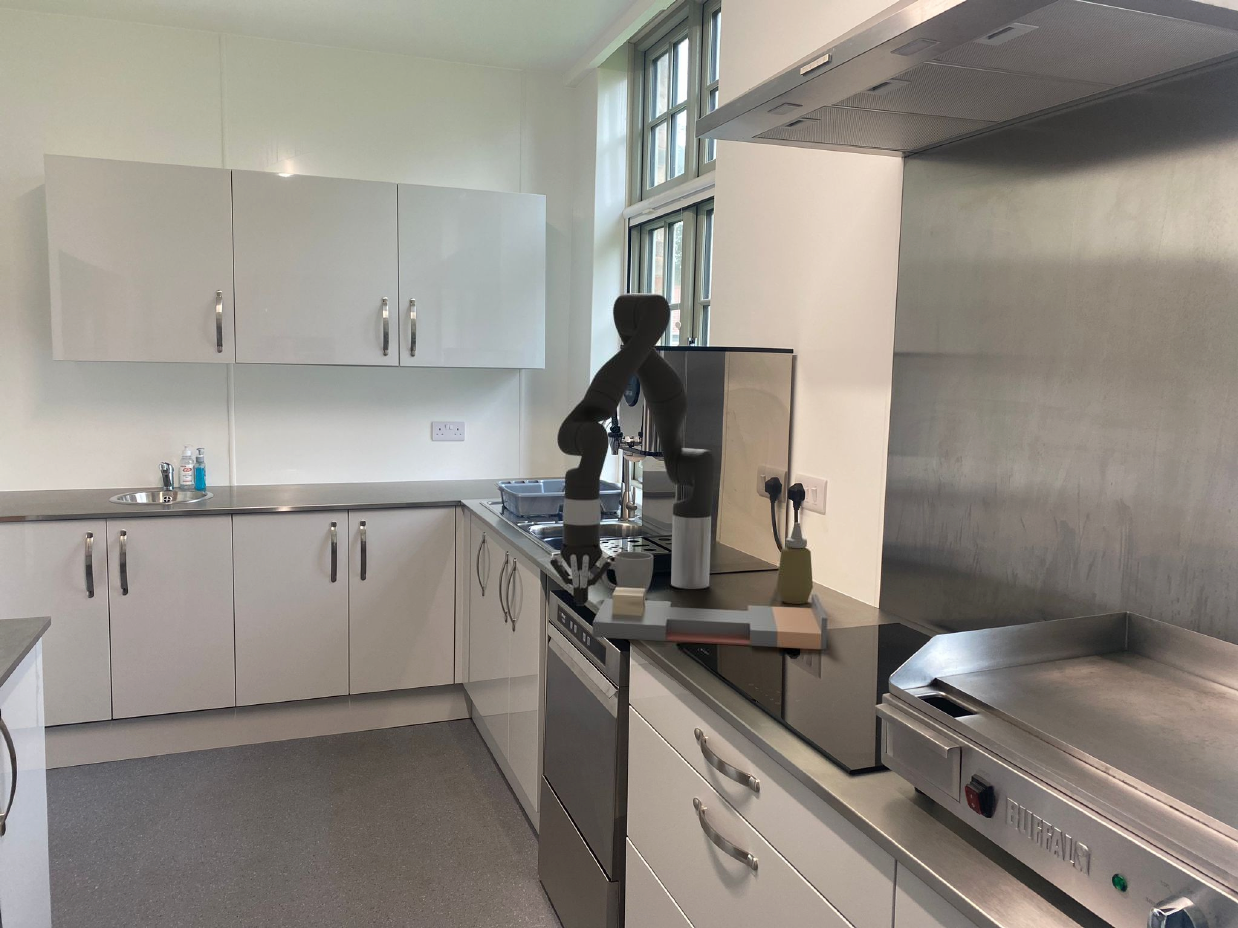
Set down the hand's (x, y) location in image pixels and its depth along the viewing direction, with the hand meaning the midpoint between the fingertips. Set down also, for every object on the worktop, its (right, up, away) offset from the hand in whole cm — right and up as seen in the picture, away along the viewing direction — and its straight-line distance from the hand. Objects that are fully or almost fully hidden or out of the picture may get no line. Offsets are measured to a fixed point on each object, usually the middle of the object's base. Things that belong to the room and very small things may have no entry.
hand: (580, 604), depth 174 cm
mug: (+9, -2, +22) cm, 24 cm away
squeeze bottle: (+48, -3, +21) cm, 52 cm away
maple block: (+10, -1, -1) cm, 10 cm away
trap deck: (+26, -5, -3) cm, 26 cm away
